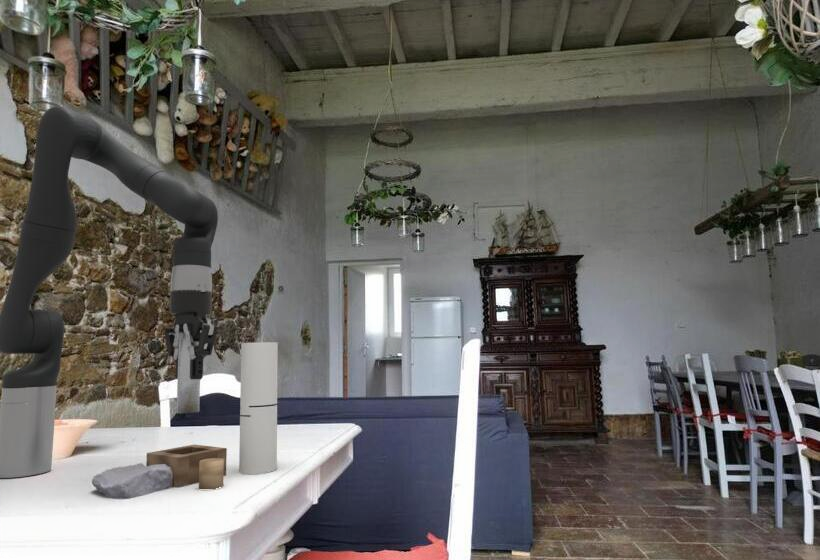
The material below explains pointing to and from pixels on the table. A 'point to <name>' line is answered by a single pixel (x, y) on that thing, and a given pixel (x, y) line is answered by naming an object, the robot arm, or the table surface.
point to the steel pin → (186, 380)
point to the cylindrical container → (258, 408)
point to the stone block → (133, 480)
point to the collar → (186, 461)
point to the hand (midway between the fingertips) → (188, 378)
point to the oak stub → (211, 473)
